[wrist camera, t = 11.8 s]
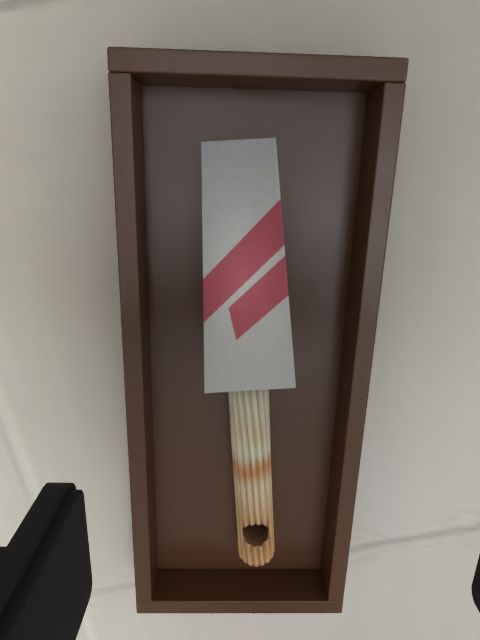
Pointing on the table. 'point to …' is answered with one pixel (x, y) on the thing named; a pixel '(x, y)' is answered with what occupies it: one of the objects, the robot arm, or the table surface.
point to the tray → (304, 302)
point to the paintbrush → (246, 318)
